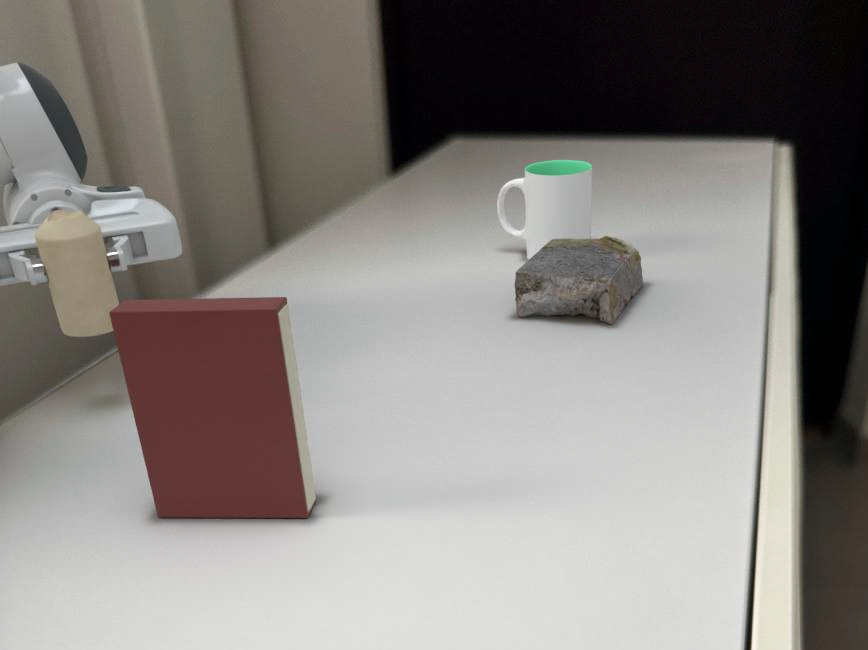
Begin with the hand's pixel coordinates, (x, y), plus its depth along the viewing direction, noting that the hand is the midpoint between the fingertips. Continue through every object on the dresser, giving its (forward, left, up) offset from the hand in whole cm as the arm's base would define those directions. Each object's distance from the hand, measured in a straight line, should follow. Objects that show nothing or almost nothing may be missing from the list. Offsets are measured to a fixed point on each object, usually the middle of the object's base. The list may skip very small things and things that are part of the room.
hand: (78, 268), depth 93 cm
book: (+18, -20, -13) cm, 29 cm away
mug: (+39, +46, -13) cm, 61 cm away
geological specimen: (+44, +28, -13) cm, 53 cm away
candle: (-1, +1, -6) cm, 6 cm away
